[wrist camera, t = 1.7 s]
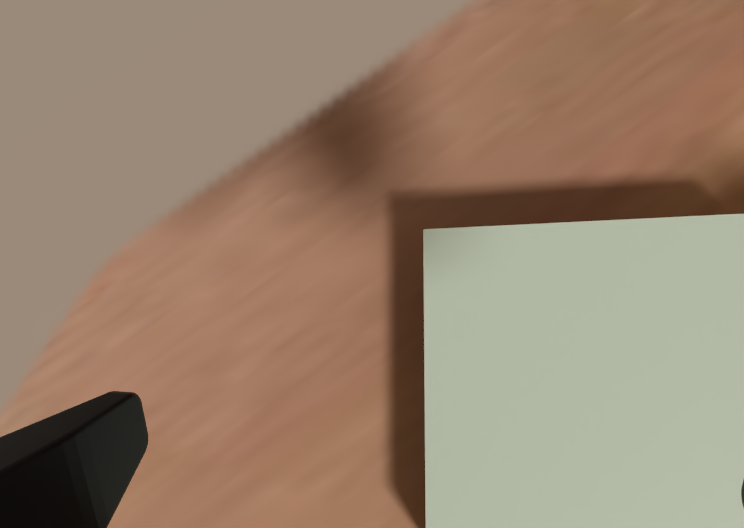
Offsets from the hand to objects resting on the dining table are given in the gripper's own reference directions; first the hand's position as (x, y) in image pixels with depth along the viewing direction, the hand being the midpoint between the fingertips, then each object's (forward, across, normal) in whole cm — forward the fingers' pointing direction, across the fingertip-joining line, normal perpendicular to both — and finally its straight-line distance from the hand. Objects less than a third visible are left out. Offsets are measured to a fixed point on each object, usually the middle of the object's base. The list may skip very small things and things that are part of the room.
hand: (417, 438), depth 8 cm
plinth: (+12, -5, +7) cm, 15 cm away
